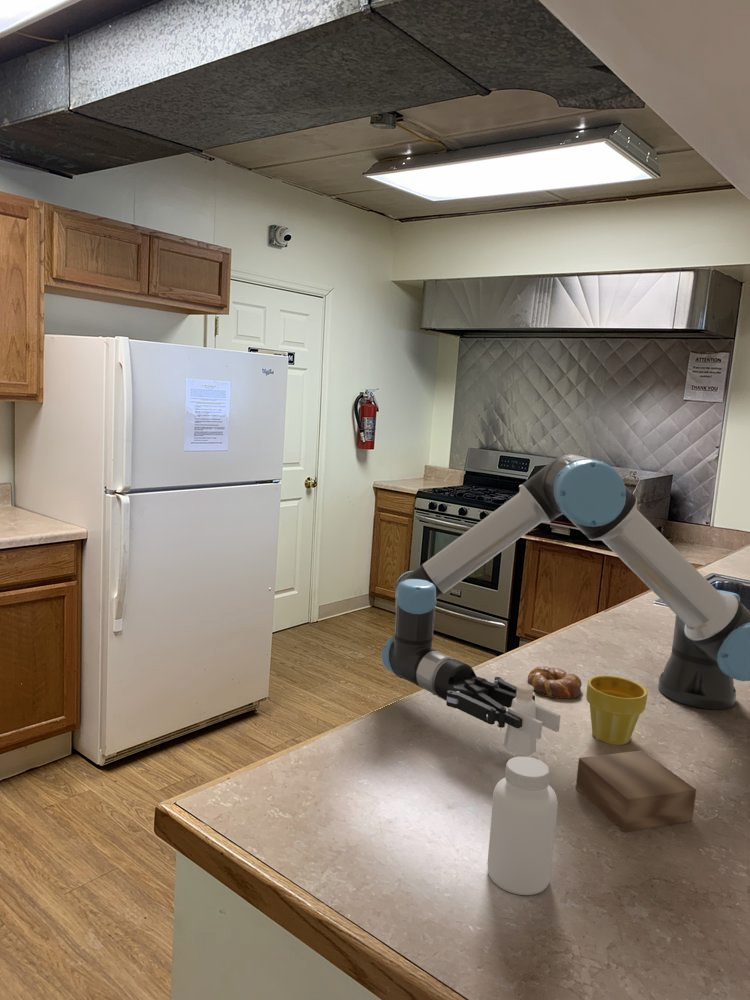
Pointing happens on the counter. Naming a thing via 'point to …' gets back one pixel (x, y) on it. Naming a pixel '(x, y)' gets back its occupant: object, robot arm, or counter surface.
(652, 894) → the counter surface
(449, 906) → the counter surface
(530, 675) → the braided bread ring
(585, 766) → the walnut base
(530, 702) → the pepper shaker
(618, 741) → the plant pot
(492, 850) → the pill bottle
